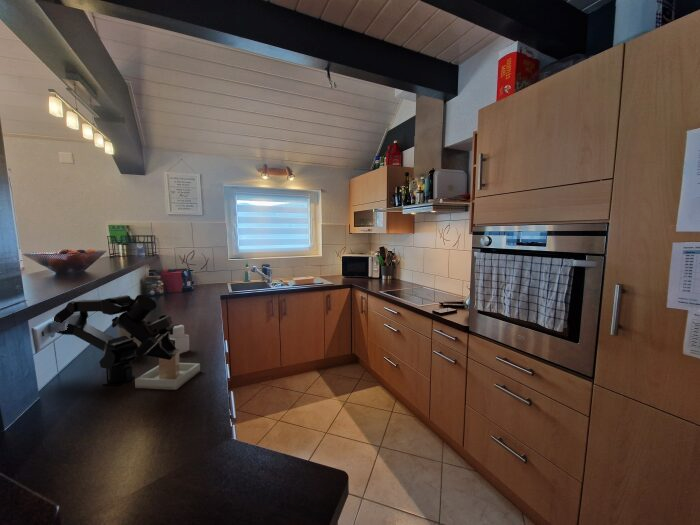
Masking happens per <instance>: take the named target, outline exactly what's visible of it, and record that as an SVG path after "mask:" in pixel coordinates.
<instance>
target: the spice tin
mask: <svg viewBox="0 0 700 525" xmlns="http://www.w3.org/2000/svg"><path fill="white" fill-rule="evenodd" d="M166 351H167V352H168V353H169V354H170V355H171V356H172V358H171V359H170V360H167V359H162V358H158V365H159V379H176V378H177V376H178V375H179V363H180V354H179V349H172V350H166Z"/></svg>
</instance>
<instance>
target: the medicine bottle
mask: <svg viewBox="0 0 700 525" xmlns="http://www.w3.org/2000/svg"><path fill="white" fill-rule="evenodd" d="M169 327H170V328H171V329H170V330H169V331H170V340H171V341H172V343H173V344H174V346H175V347H176V349H179V355H180V354H183V353H186V352H189V351H190V335H189V334H186V333H185V325H184V324H181V323H177V324H171V325H170V326H169ZM169 331H168V332H169ZM168 332H167V333H168Z"/></svg>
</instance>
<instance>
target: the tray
mask: <svg viewBox="0 0 700 525" xmlns="http://www.w3.org/2000/svg"><path fill="white" fill-rule="evenodd" d="M200 372H201V364H200V363H198V362H197V363H194V362H179V375H178V376H177V378H176V379H159V364H158V365H157V366H155V367H152V368H151V369H150V370H148V371H146V372H145V373H143V374H141V375H140V376H138V377H136V378H134V389H153V390H154V389H155V390H175V391H176V390H178V389H179V388H180V387H182V386H183V385H184V384H186V383H187V382H188V381H189V380H191V379H192V378H194V377H195V376H196V375H197V374H199V373H200Z"/></svg>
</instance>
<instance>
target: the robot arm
mask: <svg viewBox="0 0 700 525" xmlns="http://www.w3.org/2000/svg"><path fill="white" fill-rule="evenodd" d="M156 308H157V303H156V301H155V300H154V299H153V298H150V297H149V296H146V295H145V294H138V295H136V297H135V298H132V297H131V296H130V295H127V294H126V295H120V296H114V297H108V298H105V299H79V300H78V299H77V300H71V301H70V302H68V303H67V305H66V306H65V307H64V308H62V309H61V310H60V311H59V312H57V313H56V314H55V315H54V316H53V318H54V321H56V322H60V323H62V322H63V321H68V322H69V324H68V326H67V327H68V328H67V330H65V331H59V332H57V333H56V334H60V335H66V336H67V335H68V336H75V337H76V338H78V339H80V340H82V341H84V342H86V343H88V344H90V345H91V346H94V347H95V348H97V349H99V350H101V351H102V353H103V357H102V358H101V359H100V360H99V365H100V368H102V369H106V381H104V382H102V386H103V385H104V386H105V385H106V386H122V385H123V384H125V383H127V382H129V381H131V380H132V379H135V377H136V375H133V366H132V361H135V360H137V357H138V358H139V359H140V358H141V357H149V358H150V357H151V358H158V359H159V358H162V359H167V360H170V359H171V358H172V356H171V355H170V354H169V353H168V352H167V351H166V350H172V349H176V347H175V346H174V344H173V343H172V341H171V340H170V331H169V330H170V329H171V328H170V327H169V326H171V325H174V324H173V321H172V316H170V315H167V314H166V313H164V314H162V315H160V316H159V317H158V319H156V321H152V320H147V321H146V320H145V319H146V318H147V317H148V316H149V315H150V314H151V313H152V312H153V311H154V310H155V309H156ZM88 312H101V313H102V314H104V315H109V316H113V315H117V314H118V316H115V317H114V318H112V319H111V327H112V328H116V327H118V325H119V326H120V327H122V328H123V329H124V330H126V331H127V332H128V333H130V334H131V336H130V338H133V337H135V338H136V339H137V340H139V341H140V342H141V344H140V346H139V347H138V345H137V344H136V343H135V342H134V341H133V340H134V339H130V338H128V337H127V336H121V337H119V336H118V337H114V336H112V335H109V334H107V333H106V332H104V331H102V330H100V329H98V328H96V327H94V326H93V325H91V324H88V323H87V322H88V320H87V319H88V318H89V314H88ZM120 314H121V315H120ZM119 315H120V316H119ZM168 331H169V332H168ZM136 356H137V357H136Z"/></svg>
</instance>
